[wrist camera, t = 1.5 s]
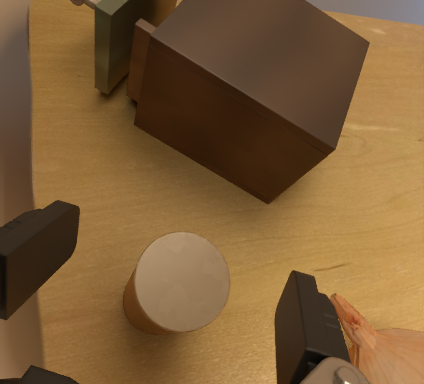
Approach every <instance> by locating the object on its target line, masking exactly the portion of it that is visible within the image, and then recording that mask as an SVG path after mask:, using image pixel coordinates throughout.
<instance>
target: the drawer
mask: <svg viewBox="0 0 424 384" xmlns="http://www.w3.org/2000/svg"><path fill="white" fill-rule="evenodd" d="M70 1H71V2H72V3H73V4H75V5H77V6H81V5H82V4H84V3H85V4H86V5H87V6H89V7H90V8H92V9H94V10H95V88H96V89H98V90H100V91H101V92H103V93H105V94H107V95H108V93H109V92H110V91H111V90H112V89H113V88H114V87H115V86H116V85H117V84H118V82H119V81H120V80H121V79H122V78H123V77H124V76H125V75H126V74H127V73H128V71H129V76H128V84H127V93H126V96H128V97H129V98H131V99H133V100H134V101H136V102H138V100H139V94H140V89H141V83H142V77H143V72H144V66H145V61H146V55H147V49H148V45H149V39H150V35H151V34H152V33H153V32H154V30H155V29H156V28H157V27H158V26H159V25H160V24H161V23H162V22H163V21H164V20H165V19H166V18H167V17H168V16H169V15H170V13H171V12H172V11H173V10H174V9H175V6H176V2H177V0H101V1H100V0H70Z"/></svg>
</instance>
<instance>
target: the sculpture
mask: <svg viewBox="0 0 424 384" xmlns="http://www.w3.org/2000/svg"><path fill="white" fill-rule="evenodd" d="M330 301H331V302H332V303H333V305H334V306H335V309H336V313H337V316H338V319H339V320H340V322H341V324H342V326H343V328H344V330H345V332H346V334H347V335H348V337H349V338H350V340H351V341H352V343H353V345H352V347H351V348H350V350H349V351H348V354H349V357H350V360H351V364H352V365H354V366H355V367H357V368H358V369H359V370H360V371H361V372H362V373H363V374H364V375H365V377H366V378H367V379H368V381H369V382H370V384H424V332H421V331H415V330H408V329H401V328H393V329H383V330H376V331H374V330H373V329H372V327H371V326H370V325H369V323H368V322H367V321H366V320H365V319H364V318H363V317H362V316H361V315H360V313H359V312H358V311H357V310H356V309H355V308H354V307H352V306H351V305H350V304H349V303H348V302H347V301H346V300H344V299H343V298H342V297H341V296H339V295H338V294H336V293H335V294H333V295H332V296H331V297H330Z"/></svg>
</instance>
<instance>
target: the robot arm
mask: <svg viewBox="0 0 424 384" xmlns="http://www.w3.org/2000/svg"><path fill="white" fill-rule="evenodd" d="M79 215H80V209H79V207H78V206H76V205H73V204H70V203H66V202H63V201H60V200H57V201H55V202H53V203H52V204H50V205H49V206H47V207H45V208H44V209H36V210H33V211H29V212H26V213H23V214H21V215H20V216H18V217H17V218H15V219H13V221H10V222H8V223H7V224H5V225H4V226H3V227H0V318H1V319H4V320H7V319H8V318H9V317H10V316H11V315H12V314H13V313H14V312H15V311H16V310H17V309H18V308H19V307H20V306H22V304H24V302H25V301H26V300H28V299H29V298H30V297H31V296H32V295H33V293H35V292H36V291H37V290H38V289H39V288H40V287H41V286H42V285H43V284H44V283H45V282H46V281H47V280H48V279H49V278H50V277H51V276H52V275H53V274H54V273H55V272H56V271H57V270H58V269H59V268H60V267H61V266H62V265H63V264H64V263H65V262H66V261H67V260H68V259H69V258H70V257H71V255H72V254H73V252H74V250H75V247H76V243H77V235H78V225H79ZM275 345H276V370H277V384H370V382H369V381H368V379H367V378H366V377H365V375H364V374H363V373H362V372H361V371H360V370H359V369H358V368H357V367H355V366H354V365H352V364H351V360H350V357H349V354H348V350H347V347H346V343H345V340H344V336H343V333H342V330H341V326H340V323H339V320H338V316H337V313H336V309H335V306H334V305H333V303H332V302H331V301H330V299H329V298H328V297H327V295H326V294H322V293H319V292H318V289H317V285H316V281H315V277H314V276H311V275H308V274H305V273H301V272H298V271H294V270H293V271H292V272H291V273H290V275H289V278H288V280H287V283H286V285H285V288H284V290H283V293H282V295H281V297H280V300H279V302H278V305H277V308H276V313H275ZM0 384H79V383H77V382H76V381H74V380H73V379H71V378H70V377H67V376H64V375H60V374H57V373H54V372H51V371H48V370H45V369H42V368H39V367H35V366H32V365H31V366H30V368H29V369H28V370H27V371H26V373H25V374H24V375H23V376H22V378H10V379H1V380H0Z"/></svg>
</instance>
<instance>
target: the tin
mask: <svg viewBox="0 0 424 384" xmlns="http://www.w3.org/2000/svg"><path fill="white" fill-rule="evenodd" d="M229 290H230V275H229V270H228V267H227V263H226V261H225V259H224V257H223V256H222V254H221V252H220V251H219V250H218V249H217V247H216V246H215V245H214V244H212V243H211V242H210V241H209V240H207V239H205V238H204V237H202V236H200V235H197V234H194V233H189V232H173V233H169V234H166V235H163V236H161V237H159V238H157V239H156V240H155V241H153V242H152V243H151V244H150V245H149V246H148V247H147V248H146V249H145V250H144V252H143V253H142V255H141V256H140V258H139V260H138V263H137V265H136V268H135V270H134V272H133V274H132V275H131V277H130V279H129V281H128V283H127V285H126V287H125V291H124V296H123V306H124V310H125V313H126V316H127V318H128V319H129V321H130V322H131V323H132V324H133V326H134V327H136V328H137V329H138V330H140V331H142V332H144V333H147V334H151V335H161V334H168V333H175V332H189V331H194V330H197V329H200V328H202V327H204V326H206V325H208V324H209V323H211V322H212V321H213V320H214V319H215V318H216V317H217V316H218V315H219V314H220V313H221V311H222V309H223V308H224V306H225V304H226V302H227V299H228V295H229Z"/></svg>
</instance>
